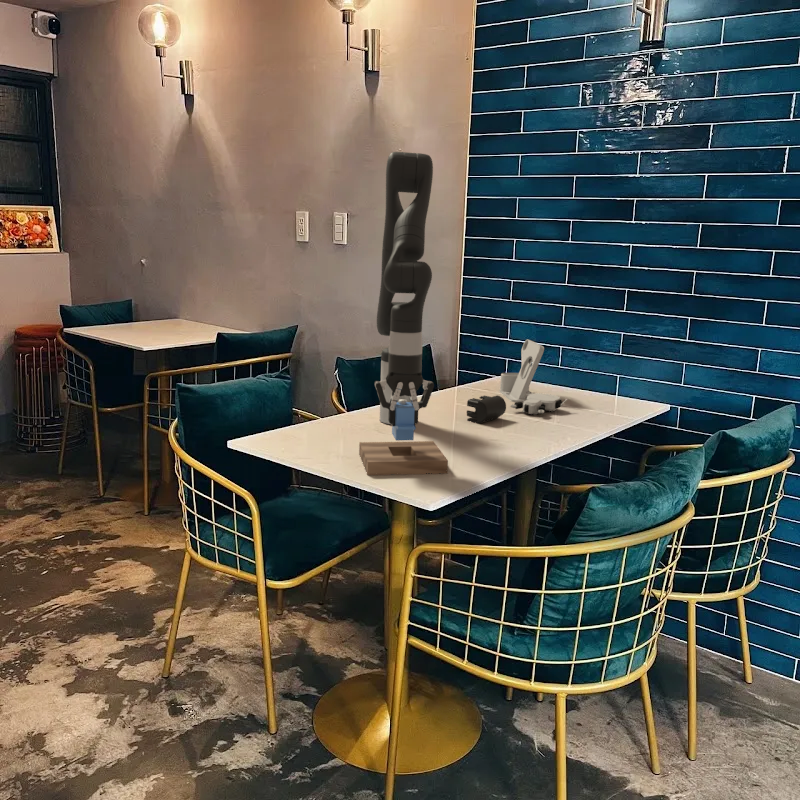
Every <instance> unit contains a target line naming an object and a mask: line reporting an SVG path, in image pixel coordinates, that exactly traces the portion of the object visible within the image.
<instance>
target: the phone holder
mask: <svg viewBox="0 0 800 800" xmlns="http://www.w3.org/2000/svg"><path fill="white" fill-rule="evenodd" d="M520 351H521V354H520V355H521V367H520V370H519V372H502V373H501V374H500V383H499V384H500V385H499V389H498V392H499V393H500V394H501V395H502V396H504V397H505V398H506V399H507V400H508V401H510V402H512V403H516V402H522V403H524V401H526V397H527V396H529V395H530V394H531V393H532V392H531V391H530V385H531V383H532V380H533V378H534V376H535V374H536V371H537V368H538V367H539V364H540V362H541V359H542V357H543V354H544V351H545V347H544V346H543V345H541V344H540V343H537V342H536V341H533V340H530V339H526V340H525V341H524V342H523V345H522V347H521V350H520Z"/></svg>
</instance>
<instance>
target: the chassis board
mask: <svg viewBox="0 0 800 800" xmlns="http://www.w3.org/2000/svg"><path fill="white" fill-rule="evenodd" d="M358 447H359V448H358V449H359V450H358V451H359V453H358V455H359V458H360V457H361V458H360V461H361V462H363V463H362V464H363V468H364V467H365V468H364V470H365V473H366V472H367V473H366V475H367V476H383V475H384V476H385V475H386V476H387V475H389V476H390V475H391V474H395V475H430V474H431V473H432V474H433V475H434V474H435V475H436V474H437V475H438V474H439V473H441V474H448V466H449V460H448V458H447V457H446V456H445V454H444V453H443V452H442V450H441V449H440V447H439V446H438V445H437V444H436V443H435V441H434V440H428V441H427V440H426V441H419V440H418V441H417V440H416V441H414V440H413V441H364V442H363V441H360V442H359V446H358ZM426 473H427V474H426ZM428 473H430V474H428ZM432 474H431V475H432Z"/></svg>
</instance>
